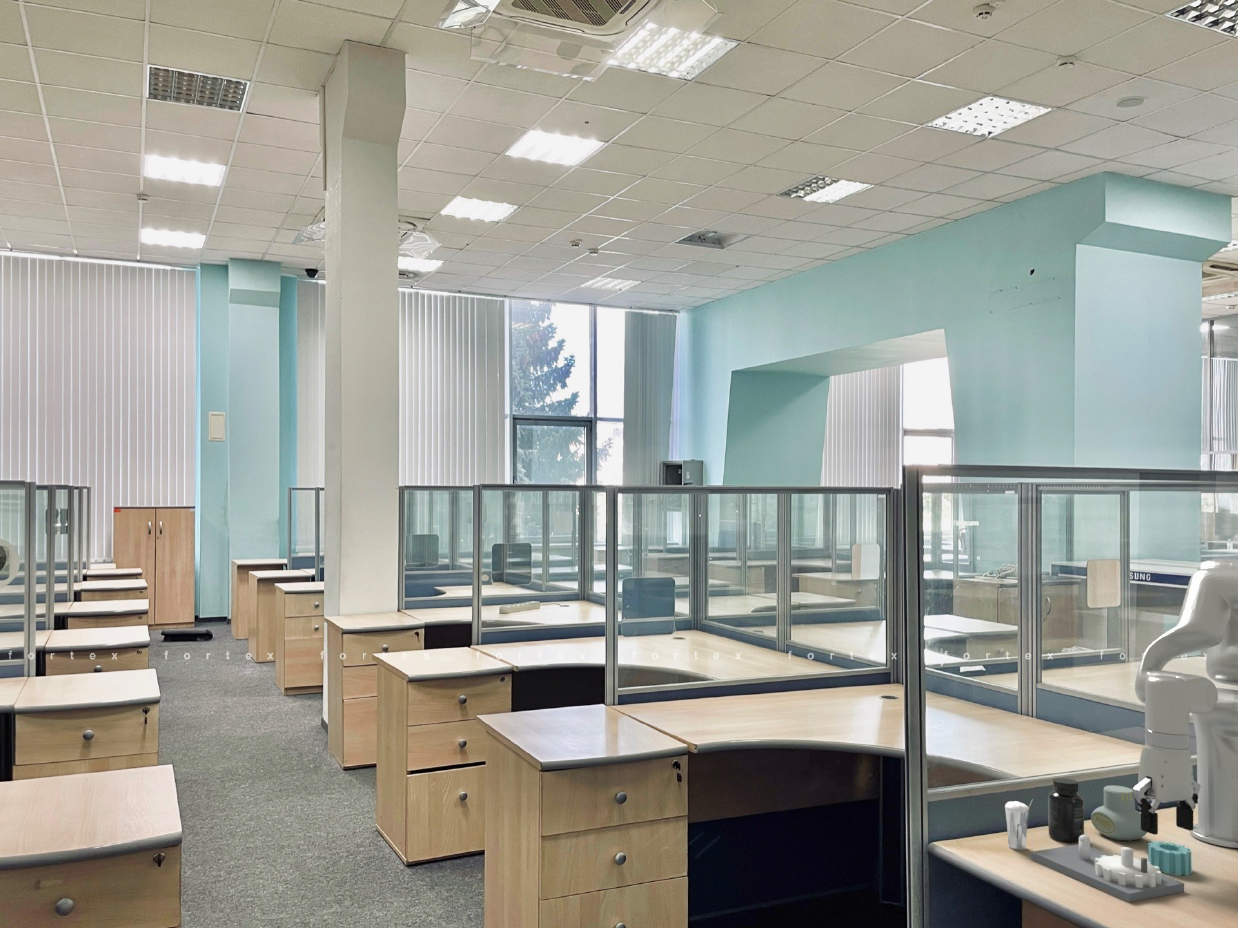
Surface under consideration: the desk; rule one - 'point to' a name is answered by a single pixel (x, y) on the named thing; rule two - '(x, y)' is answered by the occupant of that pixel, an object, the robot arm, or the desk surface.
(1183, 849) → the gear
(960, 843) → the desk surface
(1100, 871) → the gear board
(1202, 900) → the desk surface
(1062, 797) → the supplement bottle
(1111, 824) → the air freshener
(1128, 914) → the desk surface
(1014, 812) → the milkshake
